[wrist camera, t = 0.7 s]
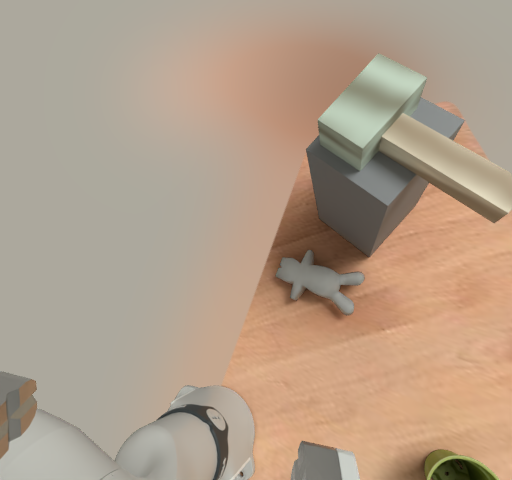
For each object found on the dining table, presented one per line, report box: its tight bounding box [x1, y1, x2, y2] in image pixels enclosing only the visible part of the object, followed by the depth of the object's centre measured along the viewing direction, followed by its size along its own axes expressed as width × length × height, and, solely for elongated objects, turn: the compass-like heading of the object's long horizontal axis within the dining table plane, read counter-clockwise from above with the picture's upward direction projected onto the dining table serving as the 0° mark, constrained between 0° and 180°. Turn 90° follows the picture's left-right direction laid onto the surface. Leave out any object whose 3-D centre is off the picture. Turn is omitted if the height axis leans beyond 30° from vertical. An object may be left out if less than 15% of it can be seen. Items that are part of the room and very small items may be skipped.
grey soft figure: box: [276, 250, 365, 315], centre depth 59 cm, size 10×5×15 cm
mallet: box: [318, 54, 512, 223], centre depth 34 cm, size 10×20×5 cm, turn 46°
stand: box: [306, 98, 465, 257], centre depth 51 cm, size 13×12×26 cm
